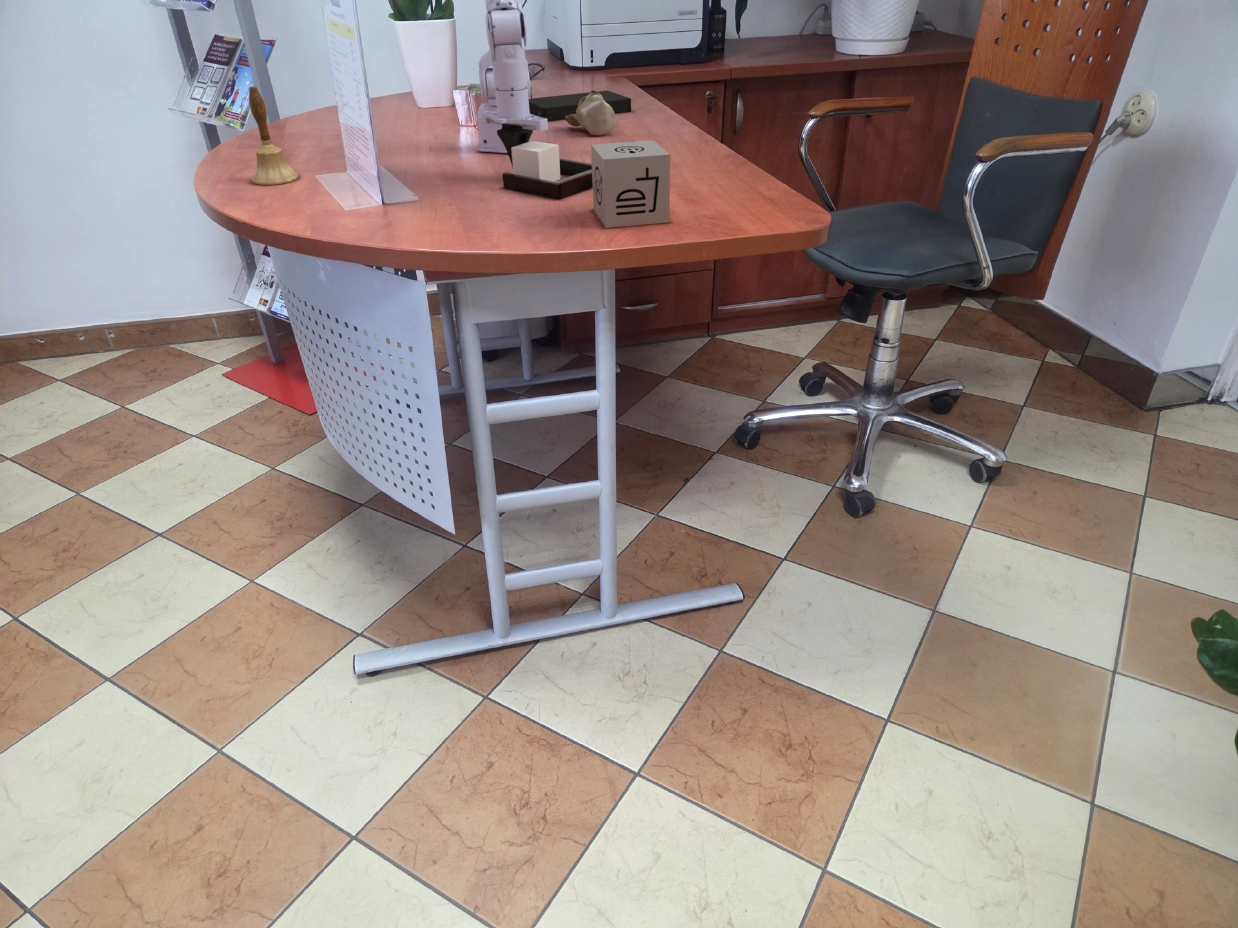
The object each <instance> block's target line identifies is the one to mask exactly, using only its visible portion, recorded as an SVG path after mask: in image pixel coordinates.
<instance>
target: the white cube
mask: <svg viewBox="0 0 1238 928" xmlns="http://www.w3.org/2000/svg"><path fill="white" fill-rule="evenodd" d="M511 149H512V162H513V168H512V174H516V175H521V176H527V177H532V178H537V179H542V180H547V181H552V182H555V181H558V180H561V174H560V162H559V158H560V145H559V144H556V143H548V142H542V141H537V140H531V141H529V142H527V143H524V144H521V145H518V146H515V147H512V148H511Z"/></svg>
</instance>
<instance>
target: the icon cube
mask: <svg viewBox="0 0 1238 928" xmlns="http://www.w3.org/2000/svg"><path fill="white" fill-rule="evenodd" d="M590 156H591V164H592V182H593V187H592V202H593V203H592V204H593V206H592V207H593V211H594V212H595V214H596V216H597V217H598V218H599V220H600V222H601V223H602V225H603V226H604V228H605V229H610V228H621V227H632V226H642V225H643V226H644V225H654V224H655V225H656V224H665V223H670V202H671V201H670V199H671V198H670V197H671V196H670V195H671V194H670V193H671V189H670V188H671V154H670V153H669V152H668V151H666V149H665V148H663V147H662V145H660V144H659V143H657V142H656V140H654V139H650V140H638V141H637V140H635V141H623V142H609V143H597V144H595V143H594V144H590Z"/></svg>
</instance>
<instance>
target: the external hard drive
mask: <svg viewBox="0 0 1238 928" xmlns="http://www.w3.org/2000/svg"><path fill="white" fill-rule="evenodd" d="M590 92H591V91H589V92H580V93H570V94H569V93H568V94H560V95H550V96H541V97H532V98H531V97H530V98H529V111H530V114H532V115H535V116H538V117H541V118H546V119H547V120H548V122H552V121H561V120H565V116H568V115H570V114H576V110H577V107H578V104H579V101H580V100H581V99H582V98H583V97H586V96H588V95H589V94H590ZM596 92H597V93H599V94H600V95H601V96H602V97H603V99H604V101H605V102H606V103H607V104H609V105H610V107H611V108H612V109H613V111H614V113H615V114H621V113H629V112H630V113H631V112H632V98H630V97H627V96H624V95H622V94H620V93H616V92H613V91H610V90H599V91H596Z"/></svg>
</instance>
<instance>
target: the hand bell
mask: <svg viewBox="0 0 1238 928" xmlns="http://www.w3.org/2000/svg"><path fill="white" fill-rule="evenodd" d="M265 103H266V102H265V100H264V98H263V96H262V95H261V93H260V91H259V89H258V87H257V86H254V85H253V86H249V87H248V104H249V107H250V108H249V109H250V112H251V115H252V117H253V119H254V121H255V122H256V125H257V128H258V132H259V136H260V141H261V146H260V147H259V148H257V149H256V150H255V156H256V170H255V173H254V175H253V176H252V177H251V182H252V183H253V184H255V185H258V186H259V185H260V186H273V185H274V186H275V185H282V184H287V183H292V182H294V181H297V180H298V179H299V174H298V173H297V172H296V171H295V170H293V169H292V168H291V167H290V166H289V164H288V163H287V160H286V159H285V158H286V157H285V156H284V153H283V150H282V148H281V147H279V146H276V145H274V144H273V142H272V137H271V135H270V131H269V128H268V123H267V121H268V120H267V119H268V117H267V116H268V113H267V107H266V104H265Z"/></svg>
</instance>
